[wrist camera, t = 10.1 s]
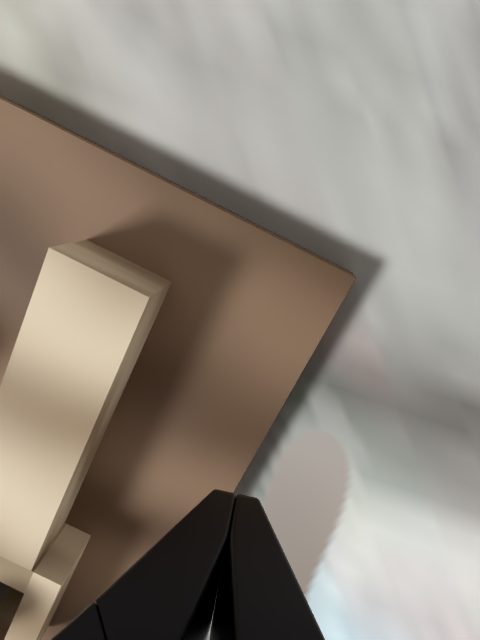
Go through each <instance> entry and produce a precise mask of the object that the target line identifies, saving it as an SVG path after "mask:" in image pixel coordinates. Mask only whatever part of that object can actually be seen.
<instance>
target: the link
mask: <svg viewBox="0 0 480 640" xmlns="http://www.w3.org/2000/svg"><path fill="white" fill-rule="evenodd" d="M170 285H171V281H169V280H167V279H165V278H163V277H161V276H159V275H157V274H155V273H153V272H151V271H149V270H147V269H145V268H143V267H141V266H139V265H137V264H135V263H133V262H131V261H129V260H127V259H125V258H123V257H121V256H119V255H117V254H115V253H113V252H111V251H109V250H107V249H105V248H103V247H101V246H99V245H97V244H95V243H93V242H91V241H89V240H83V241H78V242H73V243H68V244H63V245H58V246H53V247H49V248H48V251H47V254H46V257H45V260H44V263H43V266H42V268H41V271H40V274H39V277H38V280H37V283H36V286H35V288H34V291H33V294H32V297H31V300H30V303H29V306H28V309H27V311H26V314H25V317H24V320H23V323H22V326H21V329H20V331H19V334H18V337H17V340H16V343H15V346H14V349H13V352H12V354H11V357H10V360H9V363H8V366H7V369H6V372H5V374H4V377H3V380H2V383H1V386H0V582H2V583H4V584H6V585H8V586H10V587H12V588H14V589H16V590H18V591H20V592H22V593H24V594H22V593H20V592H18V591H16V590H14V589H12V588H11V590H10V591H9V593H8V594H7V595H6V597H5V598H4V600H3V601H2V602H1V604H0V640H41V638H42V637H43V635H44V633H45V631H46V630H47V628H48V626H49V624H50V622H51V620H52V618H53V615H54V613H55V611H56V609H57V607H58V605H59V603H60V601H61V598H62V596H63V594H64V592H65V590H66V588H67V586H68V584H69V581H70V579H71V577H72V575H73V573H74V571H75V569H76V567H77V565H78V562H79V560H80V558H81V556H82V554H83V552H84V550H85V548H86V545H87V543H88V541H89V539H90V537H91V535H89V534H87V533H85V532H83V531H81V530H79V529H77V528H75V527H73V526H71V525H69V524H66V523H65V521H66V519H67V517H68V514H69V512H70V510H71V508H72V505H73V503H74V501H75V499H76V496H77V494H78V492H79V490H80V487H81V485H82V483H83V481H84V478H85V476H86V474H87V472H88V469H89V467H90V465H91V463H92V460H93V458H94V456H95V453H96V451H97V449H98V447H99V444H100V442H101V440H102V438H103V435H104V433H105V431H106V429H107V426H108V424H109V422H110V420H111V417H112V415H113V413H114V411H115V408H116V406H117V404H118V402H119V399H120V397H121V395H122V393H123V390H124V388H125V386H126V384H127V381H128V379H129V377H130V375H131V372H132V370H133V368H134V366H135V363H136V361H137V359H138V357H139V354H140V352H141V350H142V348H143V345H144V343H145V341H146V339H147V336H148V334H149V332H150V330H151V327H152V325H153V323H154V321H155V318H156V316H157V314H158V312H159V309H160V307H161V305H162V303H163V300H164V298H165V296H166V294H167V291H168V289H169V287H170Z"/></svg>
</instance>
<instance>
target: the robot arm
mask: <svg viewBox="0 0 480 640" xmlns="http://www.w3.org/2000/svg"><path fill="white" fill-rule="evenodd" d="M234 503H235V504H234ZM216 596H217V597H216ZM215 601H216V602H215ZM214 606H215V607H214ZM213 611H214V612H213ZM212 615H213V618H212ZM211 620H212V625H211V632H210V640H325V639H324V636H323V634H322V632H321V630H320V628H319V626H318V624H317V622H316V619H315V617H314V615H313V613H312V611H311V609H310V607H309V605H308V602H307V600H306V598H305V596H304V594H303V592H302V590H301V588H300V586H299V583H298V581H297V579H296V577H295V575H294V573H293V571H292V569H291V566H290V565H289V562H288V560H287V558H286V556H285V554H284V552H283V549H282V547H281V545H280V543H279V541H278V539H277V537H276V535H275V533H274V530H273V529H272V526H271V524H270V522H269V520H268V518H267V515H266V513H265V511H264V509H263V507H262V505H261V503H260V501H259V500H258V499H257V498H254V497H250V496H245V495H241V494H239V495H237V496H236V499H235V494H234V493H232V492H227V491H223V490H218V489H215V490H213V491H212V492H211V493H209V494H208V495H207V496H206V497H205V498H204V499H203V500H202V501H201V502H200V503H199V504H198V505H197V506H195V507H194V508H193V509H192V510H191V511H190V512H189V513H188V514H187V515H186V516H185V517H184V518H183V519H181V520H180V521H179V522H178V523H177V524H176V525H175V526H174V527H173V528H172V529H171V530H170V531H169V532H167V533H166V534H165V535H164V536H163V537H162V538H161V539H160V540H159V541H158V542H157V543H156V544H155V545H153V546H152V547H151V548H150V549H149V550H148V551H147V552H146V553H145V554H144V555H143V556H142V557H141V558H139V559H138V560H137V561H136V562H135V563H134V564H133V565H132V566H131V567H130V568H129V569H128V570H127V571H125V572H124V573H123V574H122V575H121V576H120V577H119V578H118V579H117V580H116V581H115V582H114V583H113V584H111V585H110V586H109V587H108V588H107V589H106V590H105V591H104V592H103V593H102V594H101V595H100V596H99V597H97V598H96V600H95V603H91V604H90V605H88V606H87V607H86V608H85V609H84V610H83V611H82V612H81V613H80V614H79V615H78V616H77V617H76V618H75V619H74V620H72V621H71V622H70V623H69V624H68V625H67V626H66V627H64V628H63V629H62V630H61V631H60V632H59V633H58V634H56V635H55V636H54V637H53V638H52V639H51V640H206V639H207V636H208V632H209V629H210V624H211Z"/></svg>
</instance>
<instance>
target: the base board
mask: <svg viewBox="0 0 480 640" xmlns="http://www.w3.org/2000/svg"><path fill="white" fill-rule="evenodd" d="M83 240H89V241H91V242H93V243H95V244H97V245H99V246H101V247H103V248H105V249H107V250H109V251H111V252H113V253H115V254H117V255H119V256H121V257H123V258H125V259H127V260H129V261H131V262H133V263H135V264H137V265H139V266H141V267H143V268H145V269H147V270H149V271H151V272H153V273H155V274H157V275H159V276H161V277H163V278H165V279H167V280H169V281H171V285H170V287H169V289H168V291H167V294H166V296H165V298H164V300H163V303H162V305H161V307H160V309H159V312H158V314H157V316H156V318H155V321H154V323H153V325H152V327H151V330H150V332H149V334H148V336H147V339H146V341H145V343H144V345H143V348H142V350H141V352H140V354H139V357H138V359H137V361H136V363H135V366H134V368H133V370H132V372H131V375H130V377H129V379H128V381H127V384H126V386H125V388H124V390H123V393H122V395H121V397H120V399H119V402H118V404H117V406H116V408H115V411H114V413H113V415H112V417H111V420H110V422H109V424H108V426H107V429H106V431H105V433H104V435H103V438H102V440H101V442H100V444H99V447H98V449H97V451H96V453H95V456H94V458H93V460H92V463H91V465H90V467H89V469H88V472H87V474H86V476H85V478H84V481H83V483H82V485H81V487H80V490H79V492H78V494H77V496H76V499H75V501H74V503H73V505H72V508H71V510H70V512H69V514H68V517H67V519H66V521H65V523H66V524H69V525H71V526H73V527H75V528H77V529H79V530H81V531H83V532H85V533H87V534H89V535H91V537H90V539H89V541H88V543H87V545H86V548H85V550H84V552H83V554H82V556H81V558H80V560H79V562H78V565H77V567H76V569H75V571H74V573H73V575H72V577H71V579H70V581H69V584H68V586H67V588H66V590H65V592H64V594H63V596H62V598H61V601H60V603H59V605H58V607H57V609H56V611H55V613H54V615H53V618H52V620H51V622H50V624H49V626H48V628H47V630H46V631H45V633H44V635H43V637H42V638H41V640H51V639H52V638H53V637H54V636H55V635H56V634H58V633H59V632H60V631H61V630H62V629H63V628H64V627H66V626H67V625H68V624H69V623H70V622H71V621H72V620H74V619H75V618H76V617H77V616H78V615H79V614H80V613H81V612H82V611H83V610H84V609H85V608H86V607H87V606H88V605H90V604H91V603H95V600H96V598H97V597H99V596H100V595H101V594H102V593H103V592H104V591H105V590H106V589H107V588H108V587H109V586H110V585H111V584H113V583H114V582H115V581H116V580H117V579H118V578H119V577H120V576H121V575H122V574H123V573H124V572H125V571H127V570H128V569H129V568H130V567H131V566H132V565H133V564H134V563H135V562H136V561H137V560H138V559H139V558H141V557H142V556H143V555H144V554H145V553H146V552H147V551H148V550H149V549H150V548H151V547H152V546H153V545H155V544H156V543H157V542H158V541H159V540H160V539H161V538H162V537H163V536H164V535H165V534H166V533H167V532H169V531H170V530H171V529H172V528H173V527H174V526H175V525H176V524H177V523H178V522H179V521H180V520H181V519H183V518H184V517H185V516H186V515H187V514H188V513H189V512H190V511H191V510H192V509H193V508H194V507H195V506H197V505H198V504H199V503H200V502H201V501H202V500H203V499H204V498H205V497H206V496H207V495H208V494H209V493H211V492H212V491H213V490H215V489H218V490H223V491H227V492H232V493H233V492H234V490H235V488H236V487H237V485H238V483H239V481H240V480H241V478H242V476H243V474H244V473H245V471H246V469H247V467H248V466H249V464H250V462H251V460H252V459H253V457H254V455H255V453H256V452H257V450H258V448H259V446H260V445H261V443H262V441H263V439H264V438H265V436H266V434H267V432H268V431H269V429H270V427H271V425H272V424H273V422H274V420H275V418H276V417H277V415H278V413H279V411H280V410H281V408H282V406H283V404H284V403H285V401H286V399H287V397H288V396H289V394H290V392H291V391H292V389H293V387H294V385H295V384H296V382H297V380H298V378H299V377H300V375H301V373H302V371H303V370H304V368H305V366H306V364H307V363H308V361H309V359H310V357H311V356H312V354H313V352H314V350H315V349H316V347H317V345H318V343H319V342H320V340H321V338H322V336H323V335H324V333H325V331H326V329H327V328H328V326H329V324H330V322H331V321H332V319H333V317H334V315H335V314H336V312H337V310H338V308H339V307H340V305H341V303H342V301H343V300H344V298H345V296H346V294H347V293H348V291H349V289H350V287H351V286H352V284H353V282H354V280H355V279H356V277H355V276H354V275H353V273H351V272H349V271H347V270H345V269H343V268H341V267H339V266H337V265H335V264H333V263H331V262H329V261H327V260H325V259H323V258H321V257H319V256H318V255H316V254H314V253H312V252H310V251H308V250H306V249H304V248H302V247H300V246H298V245H296V244H294V243H292V242H290V241H288V240H286V239H284V238H282V237H280V236H278V235H276V234H274V233H272V232H270V231H268V230H266V229H264V228H262V227H260V226H258V225H256V224H254V223H252V222H250V221H248V220H246V219H244V218H242V217H240V216H238V215H236V214H234V213H232V212H230V211H228V210H226V209H224V208H222V207H220V206H218V205H216V204H214V203H212V202H210V201H208V200H206V199H204V198H202V197H200V196H198V195H196V194H194V193H192V192H190V191H188V190H186V189H184V188H182V187H180V186H179V185H177V184H175V183H173V182H171V181H169V180H167V179H165V178H163V177H161V176H159V175H157V174H155V173H153V172H151V171H149V170H147V169H145V168H143V167H141V166H139V165H137V164H135V163H133V162H131V161H129V160H127V159H125V158H123V157H121V156H119V155H117V154H115V153H113V152H111V151H109V150H107V149H105V148H103V147H101V146H99V145H97V144H95V143H93V142H91V141H89V140H87V139H85V138H83V137H81V136H79V135H77V134H75V133H73V132H71V131H69V130H67V129H65V128H63V127H61V126H59V125H57V124H55V123H53V122H51V121H49V120H47V119H45V118H43V117H41V116H39V115H38V114H36V113H34V112H32V111H30V110H28V109H26V108H24V107H22V106H20V105H18V104H16V103H14V102H12V101H10V100H8V99H6V98H4V97H2V96H0V386H1V383H2V380H3V377H4V374H5V372H6V369H7V366H8V363H9V360H10V357H11V354H12V352H13V349H14V346H15V343H16V340H17V337H18V334H19V331H20V329H21V326H22V323H23V320H24V317H25V314H26V311H27V309H28V306H29V303H30V300H31V297H32V294H33V291H34V288H35V286H36V283H37V280H38V277H39V274H40V271H41V268H42V266H43V263H44V260H45V257H46V254H47V251H48V248H49V247H53V246H58V245H63V244H68V243H73V242H78V241H83ZM11 588H12V587H10V586H8V585H6V584H4V583H2V582H0V604H1V602H2V601H3V600H4V598H5V597H6V595H7V594H8V593H9V591H10V590H11ZM12 589H14V588H12ZM14 590H16V589H14ZM16 591H18V590H16ZM18 592H20V591H18ZM20 593H22V592H20ZM22 594H24V593H22Z"/></svg>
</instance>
